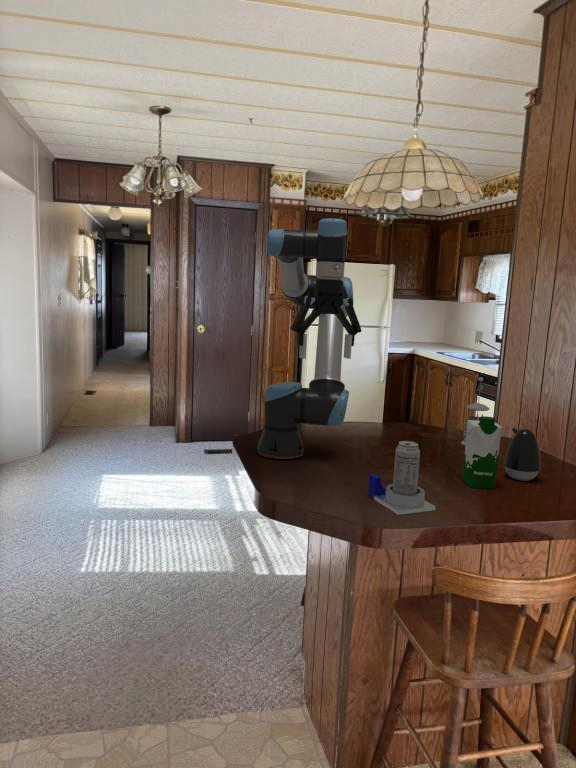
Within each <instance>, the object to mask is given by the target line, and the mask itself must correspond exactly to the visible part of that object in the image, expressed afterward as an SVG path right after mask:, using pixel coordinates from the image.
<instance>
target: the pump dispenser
mask: <svg viewBox="0 0 576 768" xmlns="http://www.w3.org/2000/svg"><path fill="white" fill-rule="evenodd" d="M511 431H512V432H513V433H514V435H513V437H512V438H511V440H510V443H509V444H508V447H507V449H506V453H505V456H504V460H503V465H504V468H505V472H506V473H507V475H508V476H509V477H510V478H512V479H514V480H516V481H521V482H522V481H523V482H525V481H532V480H534V479H535V478H536V477H537V476H538V474H539V471H541V468H542V465H541V464H542V462H541V452H540V447H539V442H538V438H537V437H536V435H535V433H534V432H533V431H532V430H530V429H528V428H522V429H519V430H518V429H517V428H516V427H513V428H512V429H511Z"/></svg>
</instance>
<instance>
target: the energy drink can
mask: <svg viewBox="0 0 576 768" xmlns="http://www.w3.org/2000/svg"><path fill="white" fill-rule="evenodd" d="M394 457H395V458H394V465H393V466H394V467H393V468H394V469H393V480H392V484H393V491H394V492H396V493H399V494H405V495H415V494H417V486H418V483H419V473H420V472H419V469H420V458H421V450H420V448H419V443H417V442H415V441H411V440H402V441H399V442H398V445H397V446H396V448H395V455H394Z"/></svg>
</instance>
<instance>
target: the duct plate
mask: <svg viewBox="0 0 576 768" xmlns="http://www.w3.org/2000/svg"><path fill="white" fill-rule="evenodd" d="M385 487H386V493H385V495H377V496H374V499H373V500H374V501H376V502H377V503H379V504H380V505H382V506H383V507H385V508H387V509H388V510H390V511H391V512H392V513H394V514H396V515H397V516H400V515H408V514H417V513H424V512H431V511H436V505H434V504H432V503H430V502H429V501H427V500H425V498H426V497H425V496H426V495H425V494H426V492H425V489H423V488H421V487H420V486H418V485H417V494H415V495H405V494H399V493H396V492H394V491H393V483H390V484H388V485H386V486H385Z"/></svg>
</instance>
